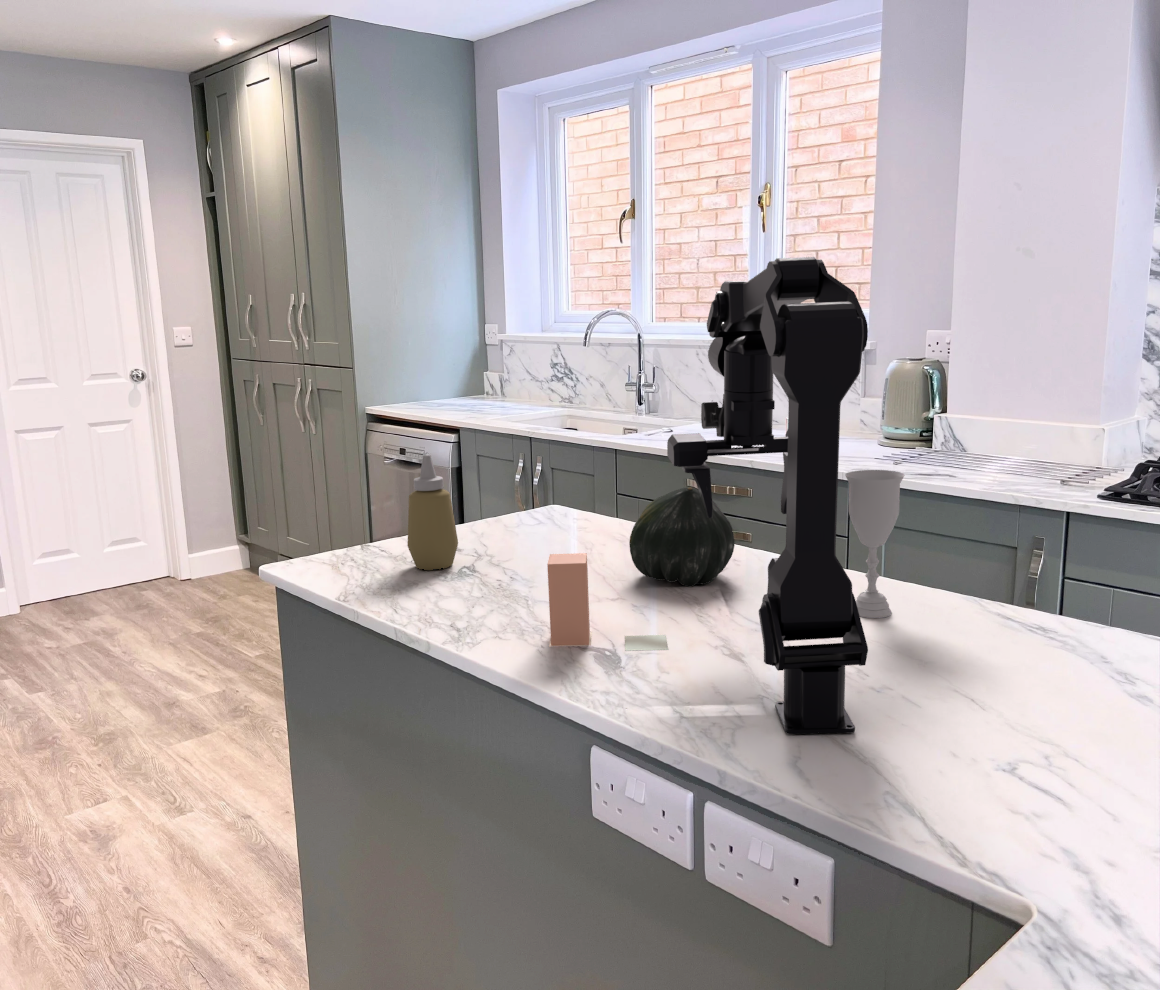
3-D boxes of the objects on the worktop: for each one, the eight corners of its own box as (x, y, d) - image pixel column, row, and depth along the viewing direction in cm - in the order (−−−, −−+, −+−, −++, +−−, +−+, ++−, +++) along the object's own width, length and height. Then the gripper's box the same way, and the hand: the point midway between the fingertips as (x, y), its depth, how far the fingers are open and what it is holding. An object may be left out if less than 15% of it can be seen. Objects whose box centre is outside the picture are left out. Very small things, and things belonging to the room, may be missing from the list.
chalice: (860, 623, 119) (863, 481, 116) (832, 607, 126) (834, 472, 122) (911, 616, 121) (916, 476, 118) (881, 600, 128) (884, 468, 124)
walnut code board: (669, 659, 110) (668, 652, 110) (547, 662, 110) (547, 655, 110) (665, 635, 118) (665, 629, 118) (551, 638, 118) (551, 631, 118)
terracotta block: (589, 644, 113) (585, 563, 111) (551, 645, 113) (547, 564, 111) (589, 631, 118) (586, 553, 116) (553, 632, 118) (549, 554, 116)
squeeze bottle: (403, 564, 155) (394, 454, 152) (451, 557, 159) (444, 449, 155) (416, 576, 148) (408, 461, 145) (466, 568, 151) (459, 456, 148)
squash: (646, 526, 151) (633, 467, 140) (741, 532, 147) (736, 473, 136) (630, 604, 143) (616, 548, 132) (731, 612, 139) (724, 556, 128)
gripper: (806, 375, 121) (802, 493, 125) (660, 381, 120) (661, 500, 124) (834, 389, 110) (829, 518, 115) (674, 397, 109) (675, 527, 114)
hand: (746, 515), depth 117 cm, fingers open, 9 cm apart
